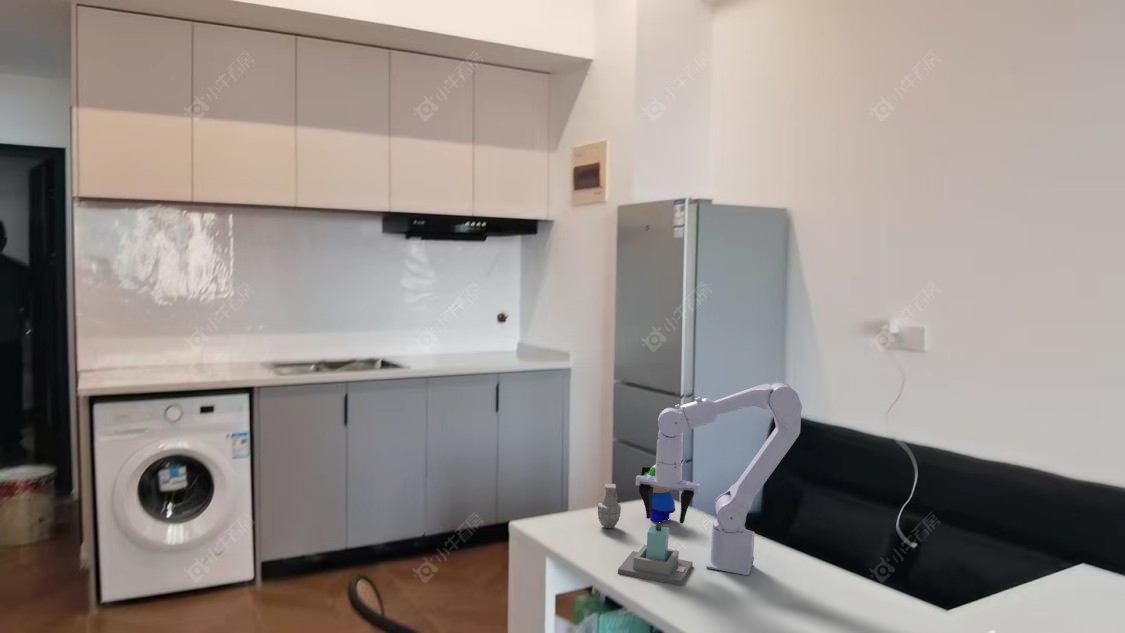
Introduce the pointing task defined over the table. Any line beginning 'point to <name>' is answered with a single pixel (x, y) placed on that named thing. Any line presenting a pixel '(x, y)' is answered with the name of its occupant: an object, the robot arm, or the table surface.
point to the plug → (657, 542)
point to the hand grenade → (609, 507)
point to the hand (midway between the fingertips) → (665, 519)
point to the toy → (659, 499)
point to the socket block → (656, 567)
